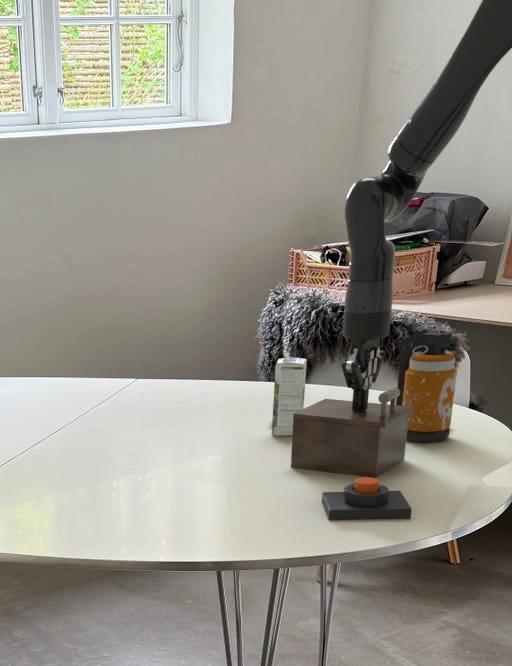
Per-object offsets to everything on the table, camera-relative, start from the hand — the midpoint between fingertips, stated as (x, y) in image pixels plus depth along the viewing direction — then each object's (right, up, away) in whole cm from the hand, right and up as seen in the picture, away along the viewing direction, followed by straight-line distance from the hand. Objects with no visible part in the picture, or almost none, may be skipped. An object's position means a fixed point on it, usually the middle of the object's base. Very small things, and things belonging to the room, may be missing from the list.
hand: (359, 410), depth 167 cm
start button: (-6, -17, -19) cm, 26 cm away
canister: (+17, -1, +17) cm, 25 cm away
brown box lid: (-1, -1, +1) cm, 1 cm away
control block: (-5, -20, -18) cm, 27 cm away
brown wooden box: (0, -8, +5) cm, 10 cm away
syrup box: (-5, +2, +27) cm, 28 cm away
